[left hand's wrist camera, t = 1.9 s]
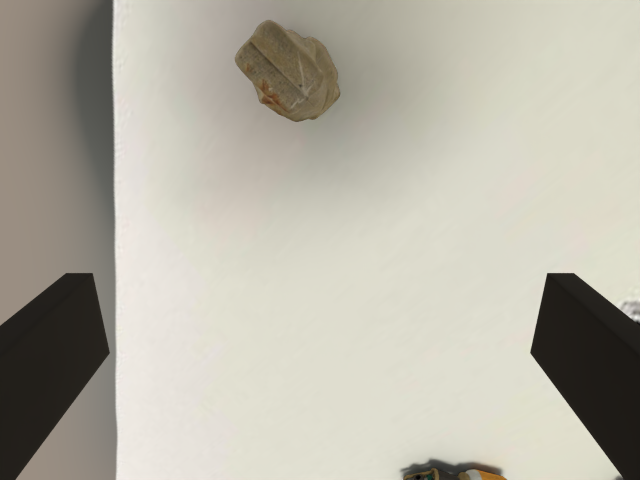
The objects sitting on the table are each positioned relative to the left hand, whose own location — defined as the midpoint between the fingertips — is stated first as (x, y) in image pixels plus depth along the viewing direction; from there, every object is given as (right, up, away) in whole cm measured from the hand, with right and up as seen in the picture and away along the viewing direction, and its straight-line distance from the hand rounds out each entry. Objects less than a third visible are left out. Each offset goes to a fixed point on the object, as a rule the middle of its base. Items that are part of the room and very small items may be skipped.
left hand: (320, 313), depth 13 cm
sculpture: (-2, +17, +27) cm, 32 cm away
